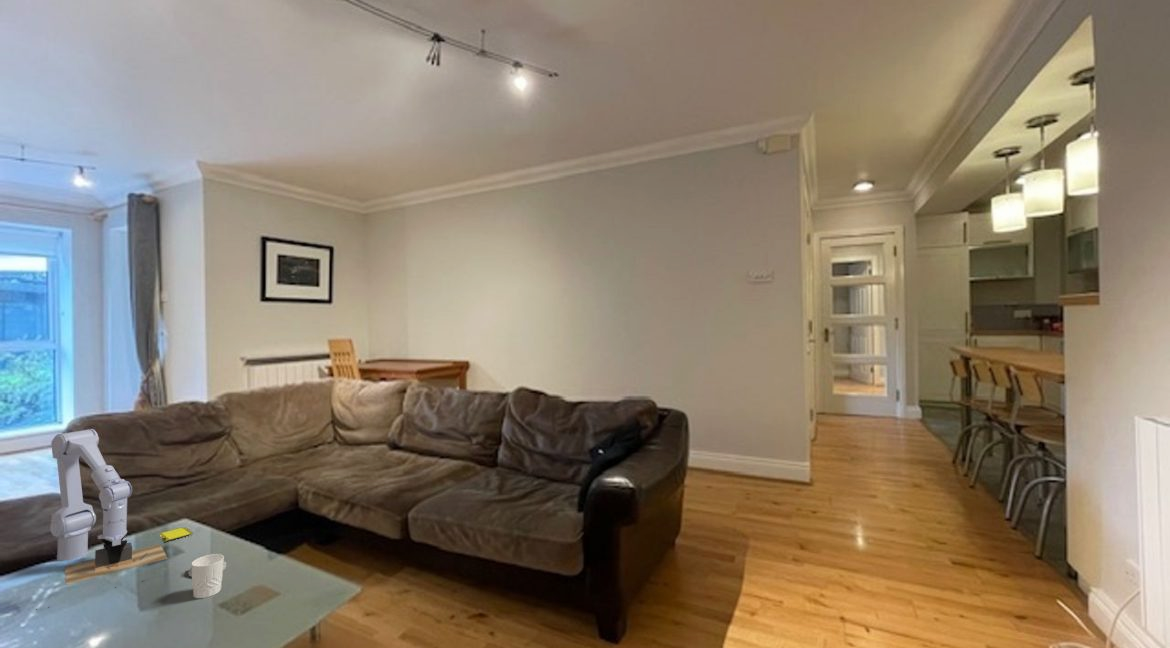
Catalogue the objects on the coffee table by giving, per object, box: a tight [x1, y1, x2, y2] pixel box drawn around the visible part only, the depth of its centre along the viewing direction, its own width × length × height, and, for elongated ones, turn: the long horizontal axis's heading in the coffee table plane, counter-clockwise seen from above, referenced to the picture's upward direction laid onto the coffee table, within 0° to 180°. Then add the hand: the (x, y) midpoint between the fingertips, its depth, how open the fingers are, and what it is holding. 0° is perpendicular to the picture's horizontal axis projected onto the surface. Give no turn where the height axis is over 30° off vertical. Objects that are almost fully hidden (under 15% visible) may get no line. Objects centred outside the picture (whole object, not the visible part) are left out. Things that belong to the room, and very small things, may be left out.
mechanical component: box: [187, 553, 227, 578], centre depth 163 cm, size 10×4×10 cm
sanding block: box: [94, 542, 133, 571], centre depth 164 cm, size 5×9×5 cm, turn 137°
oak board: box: [64, 543, 169, 585], centre depth 165 cm, size 16×24×1 cm, turn 138°
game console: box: [152, 526, 194, 544], centre depth 186 cm, size 18×11×2 cm, turn 147°
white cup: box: [191, 553, 225, 599], centre depth 150 cm, size 8×8×10 cm
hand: (113, 560), depth 164 cm, fingers closed on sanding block, 5 cm apart
